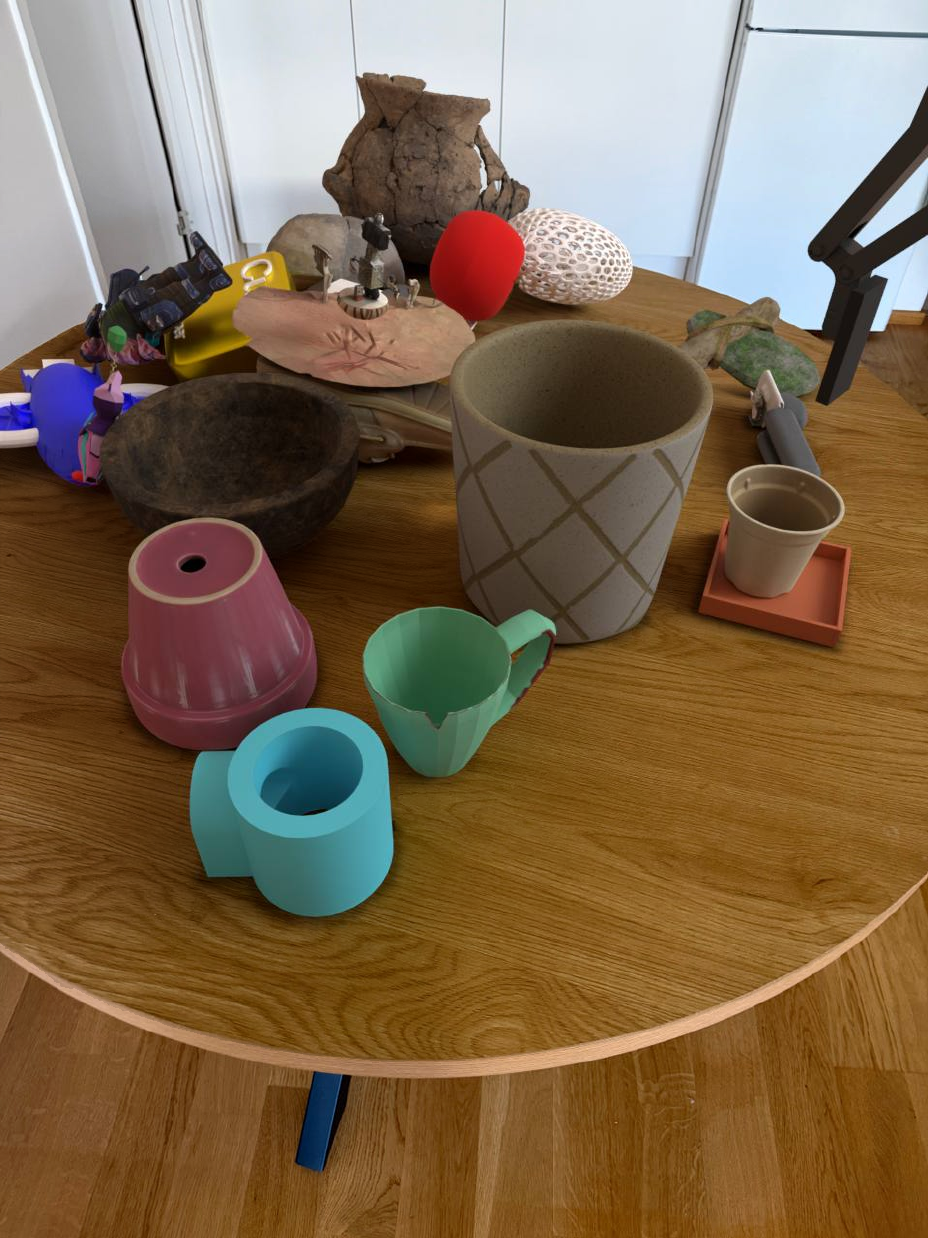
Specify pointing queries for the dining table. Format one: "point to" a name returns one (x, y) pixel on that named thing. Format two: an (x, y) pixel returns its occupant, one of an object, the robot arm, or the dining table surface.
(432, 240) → the clay pot
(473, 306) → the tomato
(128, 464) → the bowl
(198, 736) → the flower pot
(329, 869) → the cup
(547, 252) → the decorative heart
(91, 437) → the toy
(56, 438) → the toy airplane
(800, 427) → the can opener
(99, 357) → the action figure
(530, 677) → the mug
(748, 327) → the stone axe
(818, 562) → the pot tray
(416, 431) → the boat shoe
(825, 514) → the flower pot
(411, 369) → the sculpture
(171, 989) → the dining table surface
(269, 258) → the element tile
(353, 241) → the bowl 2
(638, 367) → the planter
